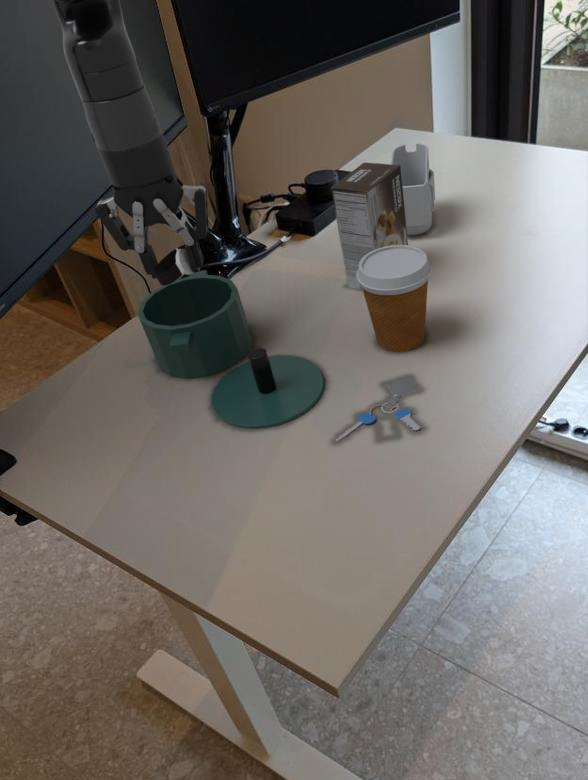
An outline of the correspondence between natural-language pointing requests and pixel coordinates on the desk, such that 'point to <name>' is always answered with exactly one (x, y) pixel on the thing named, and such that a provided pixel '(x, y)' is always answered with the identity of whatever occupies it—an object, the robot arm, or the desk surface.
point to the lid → (267, 390)
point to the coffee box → (369, 213)
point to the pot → (196, 325)
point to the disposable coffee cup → (396, 294)
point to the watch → (173, 266)
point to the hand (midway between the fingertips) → (176, 271)
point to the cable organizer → (416, 187)
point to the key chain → (397, 391)
